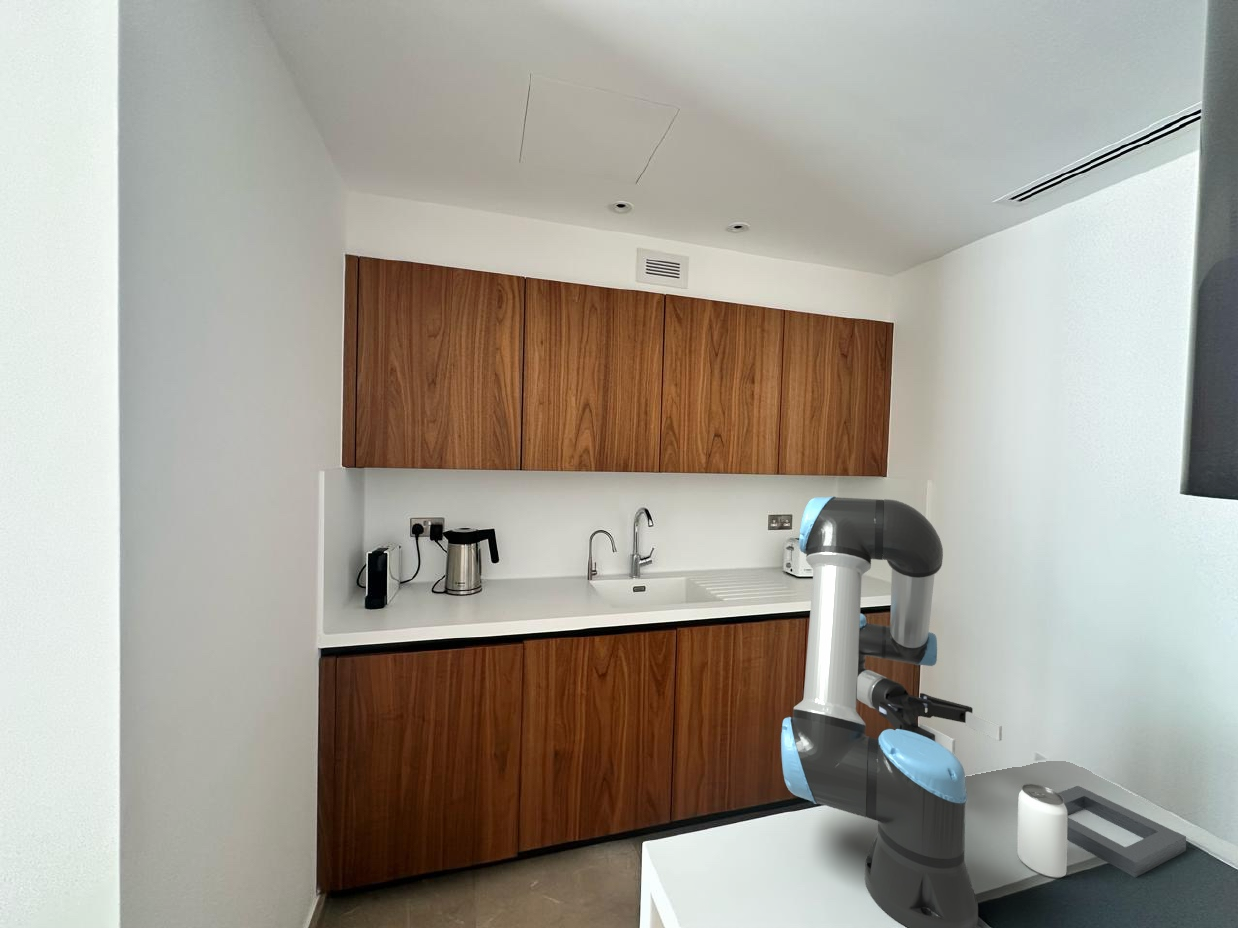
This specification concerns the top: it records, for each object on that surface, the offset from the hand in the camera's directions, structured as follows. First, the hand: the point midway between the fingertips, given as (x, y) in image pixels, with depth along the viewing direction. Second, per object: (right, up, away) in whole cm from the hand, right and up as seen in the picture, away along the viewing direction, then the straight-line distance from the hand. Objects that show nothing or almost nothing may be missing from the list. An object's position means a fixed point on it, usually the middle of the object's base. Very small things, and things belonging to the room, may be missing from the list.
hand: (978, 740), depth 99 cm
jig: (+22, -16, -2) cm, 27 cm away
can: (+4, -16, -10) cm, 19 cm away
